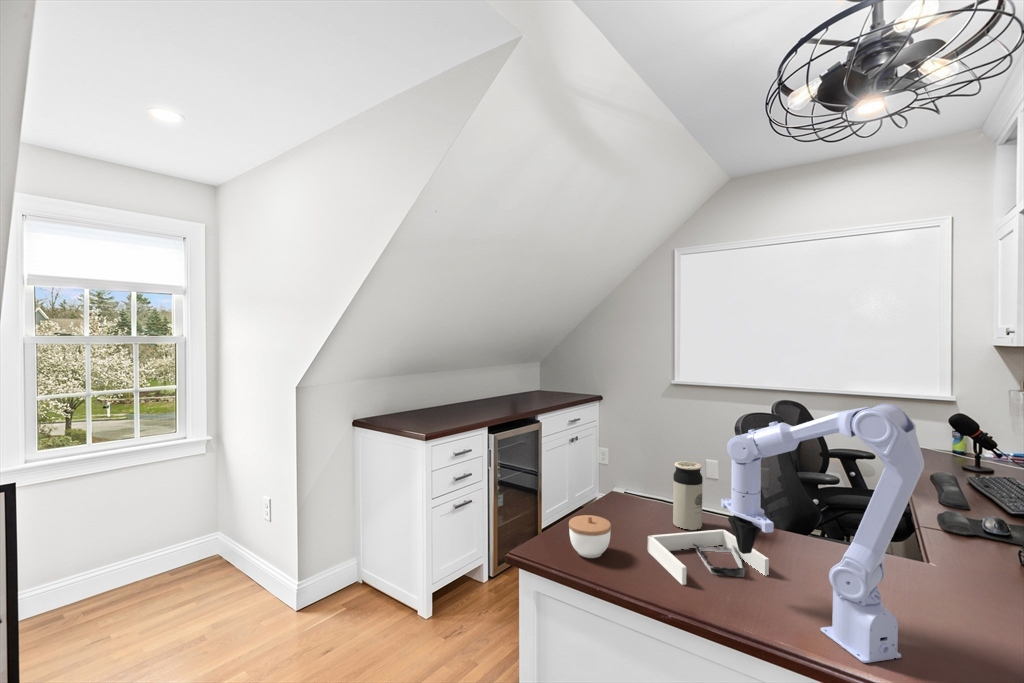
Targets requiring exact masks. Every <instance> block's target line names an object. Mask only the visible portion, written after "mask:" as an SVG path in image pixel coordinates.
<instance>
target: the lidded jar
mask: <svg viewBox="0 0 1024 683" xmlns="http://www.w3.org/2000/svg"><path fill="white" fill-rule="evenodd" d="M568 528H569V529H568V530H569V532H568V533H569V538H570V540H569V541H570V543H571V545H572V547H573V549H574V550H575V551H576V552H577V554H578V555H579V556H581V557H583V558H586V559H596V558H597V559H598V558H600V557H601V556H602V554H603V553H604V552H605V551H606V550H607V548H608V547H609V544H610V541H611V540H610V539H611V529H612V524H611V522H610V521H609V520H608V519H606V518H604V517H601V516H598V515H591V514H590V515H588V514H584V515H583V514H582V515H577V516H574V517H572V518H570V519H569V521H568Z"/></svg>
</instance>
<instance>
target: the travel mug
mask: <svg viewBox="0 0 1024 683" xmlns="http://www.w3.org/2000/svg"><path fill="white" fill-rule="evenodd" d="M674 466H675V471H674V472H673V482H672V483H673V484H672V485H673V488H672V489H673V490H672V492H673V495H672V498H673V501H672V504H673V506H672V523H673V525H674V526H675V527H677V528H678V527H680V528H679V529H681V528H683V529H682V530H684V529H690V530H689V531H697V529H698V530H700V529H702V528H703V481H704V480H703V475H702V472H701V469H702V467H703V466H702V464H700V463H698V462H695V461H687V460H685V461H683V460H682V461H676V462H675V463H674ZM701 527H702V528H701Z"/></svg>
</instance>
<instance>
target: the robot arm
mask: <svg viewBox="0 0 1024 683" xmlns="http://www.w3.org/2000/svg"><path fill="white" fill-rule="evenodd" d="M768 425H769V426H767V427H763V428H760V429H756V430H755V428H752V429H748V431H747V433H743V434H737V435H735V436H734V437H731V438H730V439H729V440H728V441H727V445H726V452H727V454H728V456H729V457H730V459H731V474H730V475H731V476H730V477H731V478H730V479H731V480H730V481H731V482H730V485H731V486H730V488H731V489H730V490H731V492H730V493H731V494H730V497H731V498H729V497H727V498H721V499H720V507H721V508H722V509H727V510H728V511H729V512H730V513H731V514H732V516H729V517H727V520H728V522H729V524H730V527H731V528H732V531H733V533H734V534H733V535H734V536H735V537H736V541H737V545H738V549H739V551H740V552H741V553H743V554H747V553H751V552H752V548H753V549H754V544H755V542H756V540H757V539H756V538H757V537H758V536H759V533H760V532H761V531H762V533H766V534H767V533H768V534H769V533H774V528H775V527H774V524H775V523H774V522H773V521H771V520H770V519H769V518H768V517H767V516H766V515H765V510H764V509H763V508H761V503H762V502H761V491H762V490H761V489H762V481H761V480H762V479H761V478H762V462H761V461H762V458H768V457H772V456H777V455H780V454H785V453H788V452H792V451H795V450H796V449H797V448H798V446H799V444H800V442H803V441H807V440H812V439H816V438H820V437H825V436H830V435H833V434H838V433H839V434H841V435H843V436H845V437H848V438H853V437H855V436H856V438H858V439H859V440H860V441H861V442H862V443H863V444H864V445H865V446H867V447H868V448H869V449H871V450H872V451H874V452H875V454H876V456H878V458H879V460H880V461H881V462H882V464H883V465H884V468H883V469H882V473H881V475H880V477H879V480H878V482H877V484H876V486H875V489H874V491H873V493H872V496H871V497H870V500H869V503H868V505H867V508H866V509H865V512H864V513H863V517H862V519H861V521H860V523H859V525H858V529H857V530H856V532H855V535H854V538H853V539H852V542H851V543H850V545H849V547H848V548H847V550H846V551H845V553H844V554H843V556H842V559H841V561H840V562H838V563H836V564H835V565H833V566H832V567H831V568H830V570H829V572H828V580H829V582H830V585H831V587H832V620H831V622H832V623H831V624H832V625H831V626H823V627H820V631H821V632H822V633H823V634H824V635H826V636H827V637H828V638H830V639H831V640H832V641H834V642H835V643H836V644H838V645H839V646H840V647H841V648H843V649H844V650H846V651H847V652H848V653H850V654H851V655H852V656H853V657H855V658H856V659H858V661H861V663H863V664H868V663H875V662H880V661H886V660H887V661H889V660H894V658H896V659H900V658H902V654H901V653H900V652H898V647H899V646H898V644H899V643H898V642H899V637H898V636H899V624H898V619H897V618H896V616H895V615H894V614H893V613H892V612H891V611H890V610H888V609H887V607H886V606H885V605H884V604H883V601H882V596H881V593H880V591H879V588H878V585H879V584H880V583H882V581H883V580H884V578H885V569H884V562H885V559H886V557H887V556H886V555H887V554H886V553H887V550H888V548H889V545H890V543H891V541H892V538H893V537H894V535H895V532H896V530H897V528H898V525H899V523H900V521H901V519H902V517H903V514H904V512H905V510H906V508H907V506H908V504H909V501H910V500H911V497H912V495H913V492H914V491H915V488H916V486H917V483H918V482H919V480H920V478H921V475H922V474H923V473H922V472H923V471H924V468H925V460H924V456H923V452H922V450H921V446H920V443H919V439H918V436H917V426H916V424H915V423H914V421H913V420H912V419H911V418H910V416H909V415H908V414H907V413H906V412H905V411H904V410H903V409H902V408H901V407H899V406H897V405H895V404H890V403H880V404H876V405H874V406H873V407H872V408H870V406H863V407H859V408H852V409H848V410H847V409H845V410H841V411H838V412H835V413H831V414H829V415H826V416H823V417H820V418H816V419H813V420H810V421H807V422H803V423H800V424H798V425H790V424H788V423H786V422H780V423H779V422H778V421H777V420H776V421H772V422H769V423H768Z"/></svg>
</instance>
